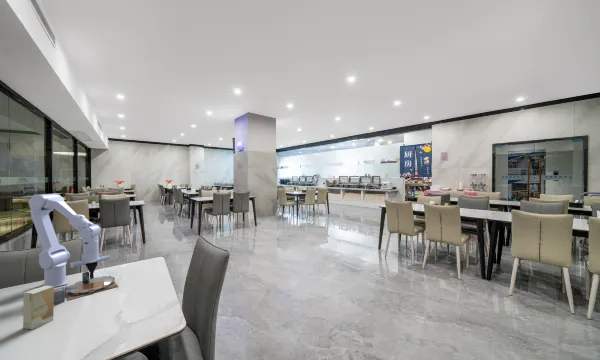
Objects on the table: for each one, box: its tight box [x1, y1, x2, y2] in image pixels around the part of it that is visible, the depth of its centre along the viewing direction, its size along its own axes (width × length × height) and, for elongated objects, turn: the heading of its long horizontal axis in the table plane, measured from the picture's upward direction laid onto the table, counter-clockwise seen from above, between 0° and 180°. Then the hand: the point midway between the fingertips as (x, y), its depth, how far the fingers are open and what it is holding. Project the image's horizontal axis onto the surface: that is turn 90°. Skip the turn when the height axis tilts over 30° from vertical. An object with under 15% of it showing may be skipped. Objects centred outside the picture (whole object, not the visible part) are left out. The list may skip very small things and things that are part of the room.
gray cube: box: [54, 286, 65, 305], centre depth 98 cm, size 4×6×5 cm, turn 137°
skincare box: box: [22, 286, 55, 330], centre depth 84 cm, size 6×4×12 cm
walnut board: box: [64, 275, 119, 301], centre depth 112 cm, size 18×17×1 cm
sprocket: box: [64, 271, 116, 295], centre depth 112 cm, size 18×18×6 cm
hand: (91, 278), depth 116 cm, fingers closed
